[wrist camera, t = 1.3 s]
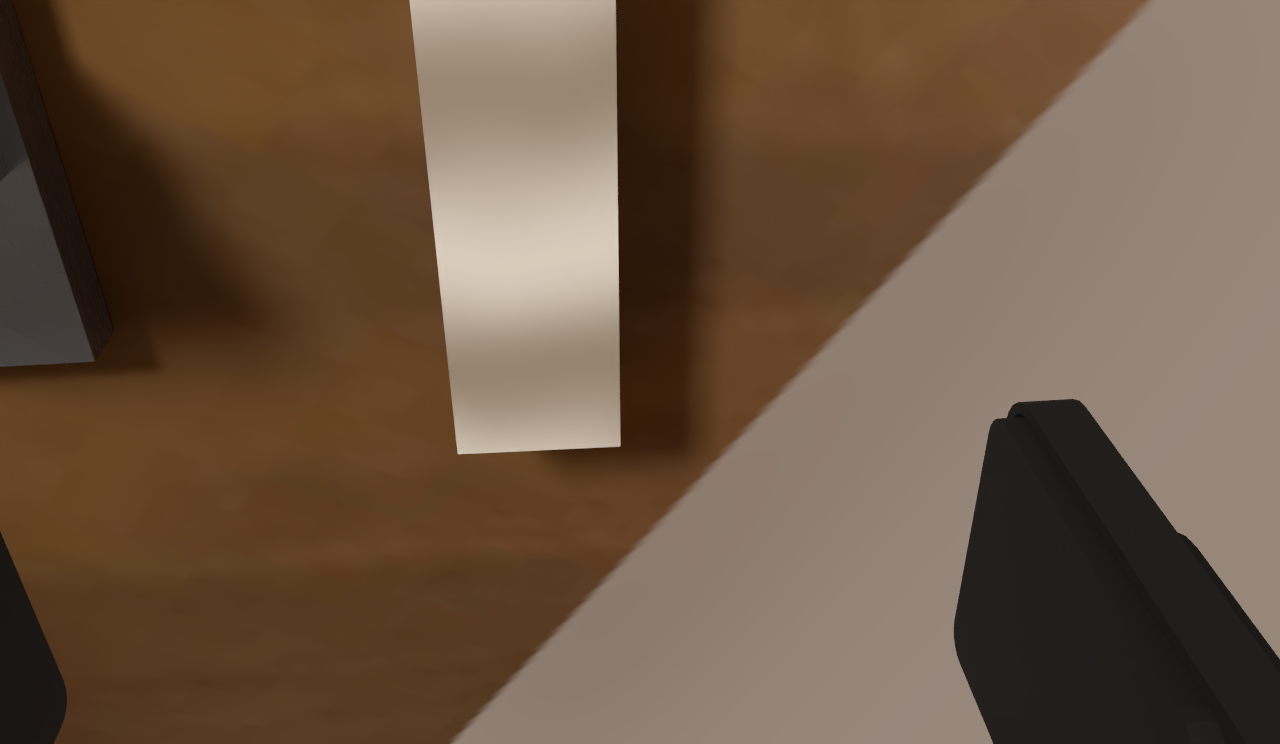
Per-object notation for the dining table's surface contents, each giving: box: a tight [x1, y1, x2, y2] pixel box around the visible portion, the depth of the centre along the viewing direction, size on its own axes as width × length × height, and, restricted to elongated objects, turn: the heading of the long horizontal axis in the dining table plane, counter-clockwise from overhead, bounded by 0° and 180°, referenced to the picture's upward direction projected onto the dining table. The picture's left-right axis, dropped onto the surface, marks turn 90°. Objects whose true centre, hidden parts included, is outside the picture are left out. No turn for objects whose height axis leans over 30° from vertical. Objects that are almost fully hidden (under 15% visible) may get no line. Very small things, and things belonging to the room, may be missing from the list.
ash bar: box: [410, 0, 620, 454], centre depth 24 cm, size 18×4×4 cm, turn 0°
